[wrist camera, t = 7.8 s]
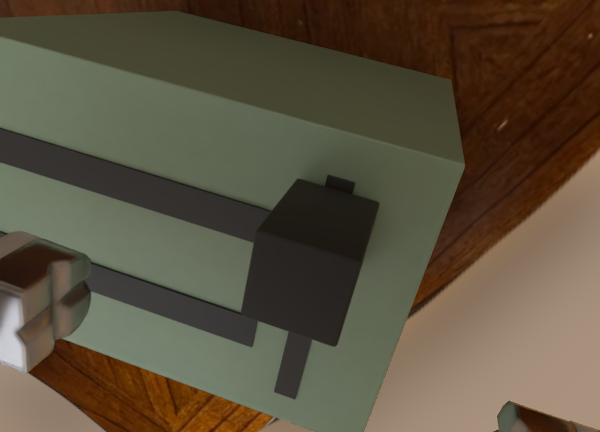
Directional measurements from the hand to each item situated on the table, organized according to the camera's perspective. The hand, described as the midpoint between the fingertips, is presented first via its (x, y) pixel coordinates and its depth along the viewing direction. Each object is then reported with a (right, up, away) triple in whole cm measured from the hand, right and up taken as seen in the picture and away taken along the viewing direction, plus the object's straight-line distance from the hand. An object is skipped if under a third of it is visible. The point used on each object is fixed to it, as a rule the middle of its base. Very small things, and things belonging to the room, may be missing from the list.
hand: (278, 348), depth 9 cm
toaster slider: (+1, +2, +5) cm, 5 cm away
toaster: (0, +7, +20) cm, 21 cm away
